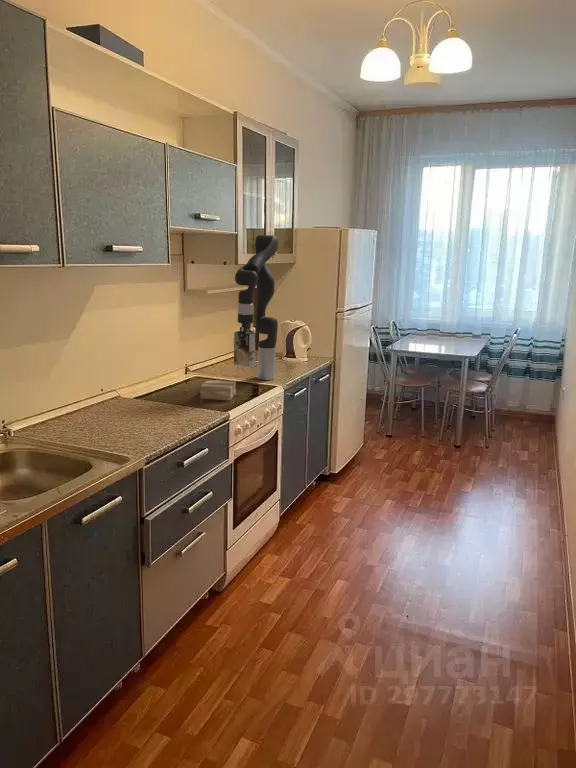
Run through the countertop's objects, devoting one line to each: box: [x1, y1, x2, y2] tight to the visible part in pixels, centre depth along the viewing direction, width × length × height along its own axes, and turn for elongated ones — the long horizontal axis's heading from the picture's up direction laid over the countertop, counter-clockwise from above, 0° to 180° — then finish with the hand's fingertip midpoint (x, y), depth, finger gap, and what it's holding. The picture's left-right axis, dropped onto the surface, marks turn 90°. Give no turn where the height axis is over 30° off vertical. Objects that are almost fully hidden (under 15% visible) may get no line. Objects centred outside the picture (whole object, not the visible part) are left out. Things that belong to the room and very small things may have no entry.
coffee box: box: [233, 330, 257, 368], centre depth 275 cm, size 9×6×16 cm
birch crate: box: [199, 379, 237, 401], centre depth 268 cm, size 14×14×6 cm
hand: (244, 346), depth 274 cm, fingers closed on coffee box, 7 cm apart
